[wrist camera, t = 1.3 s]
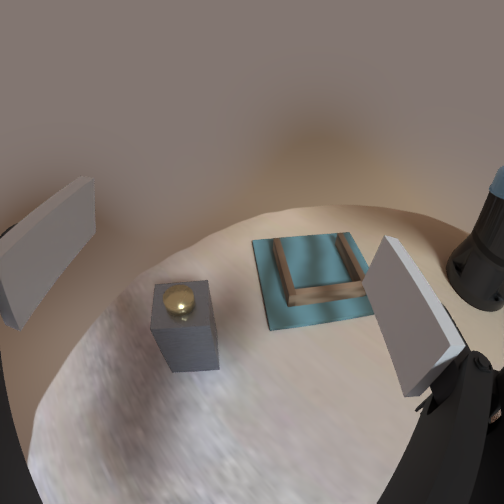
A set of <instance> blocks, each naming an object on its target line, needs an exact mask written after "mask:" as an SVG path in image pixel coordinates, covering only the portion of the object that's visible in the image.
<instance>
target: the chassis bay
mask: <svg viewBox="0 0 504 504" xmlns="http://www.w3.org/2000/svg"><path fill="white" fill-rule="evenodd" d="M253 248H254V253H255V258H256V263H257V268H258V273H259V278H260V283H261V288H262V293H263V298H264V304H265V309H266V314H267V319H268V324H269V329H270V331H272V330H280V329H288V328H295V327H302V326H309V325H316V324H322V323H329V322H335V321H341V320H347V319H352V318H358V317H363V316H369V315H374V311H373V309H372V306H371V304H370V301H369V299H368V296H367V294H366V292H365V289H364V287H363V285H362V281H363V279H364V277H365V275H366V273H367V271H368V269H369V267H368V265H367V263H366V261H365V259H364V257H363V256H362V254H361V252H360V250H359V248H358V247H357V245H356V243H355V241H354V240H353V238H352V236H351V234H350V233H349V232H346V233H333V234H321V235H308V236H296V237H285V238H273V239H261V240H253Z"/></svg>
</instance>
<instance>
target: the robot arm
mask: <svg viewBox="0 0 504 504" xmlns="http://www.w3.org/2000/svg"><path fill="white" fill-rule="evenodd" d="M489 190H490V191H489V194H488V197H487V199H486V201H485V204H484V206H483V208H482V211H481V213H480V215H479V218H478V220H477V222H476V224H475V226H474V229H473V231H472V233H471V234H470V235H469V236H468V237H467V238H466V239H465V240H464V241H463V242H462V243H461V244H460V245H459V246H458V247H457V248H456V249H455V250H454V251H453V252H452V254H451V256H450V258H449V260H448V262H447V267H446V270H447V275H448V278H449V281H450V283H451V284H452V286H453V288H454V289H455V290H456V292H457V293H458V294H459V295H460V296H461V297H462V298H463V299H464V300H465V301H466V302H468V303H469V304H471V305H472V306H474V307H476V308H478V309H480V310H483V311H489V312H493V311H497V310H499V309H501V308H502V307H503V306H504V166H502V167H500V168H499V169H498V171H497V173H496V176H495V178H494V180H493V183H492V184H491V185H490V187H489ZM94 200H95V198H94V178H91V177H84V176H80V177H78V178H77V179H75V180H74V181H72V182H71V183H70V184H68V185H67V186H65V187H64V188H63V189H61V190H60V191H58V192H57V193H56V194H54V195H53V196H52V197H50V198H49V199H48V200H46V201H45V202H44V203H43V204H41V205H40V206H39V207H38V208H36V209H35V210H34V211H32V212H31V213H30V214H29V215H28V216H26V217H25V218H24V219H22V220H21V221H20V222H19V223H17V224H15V225H13V226H11V227H9V228H8V229H7V230H6V231H5V232H4V233H2V235H1V236H0V313H1V316H2V318H3V320H4V323H5V325H8V326H10V327H12V328H14V329H16V330H19V331H21V330H22V328H23V327H24V325H25V324H26V322H27V321H28V319H29V318H30V316H31V315H32V313H33V312H34V310H35V309H36V307H37V306H38V305H39V303H40V302H41V301H42V299H43V298H44V296H45V295H46V294H47V292H48V291H49V290H50V288H51V287H52V286H53V284H54V283H55V282H56V280H57V279H58V278H59V276H60V275H61V274H62V273H63V271H64V270H65V269H66V267H67V266H68V265H69V264H70V262H71V261H72V260H73V259H74V258H75V256H76V255H77V254H78V253H79V251H80V250H81V249H82V248H83V247H84V246H85V244H86V243H87V242H88V241H89V240H90V238H91V237H92V236H93V235H94V234H95V233H96V225H95V201H94ZM362 285H363V287H364V289H365V292H366V294H367V296H368V299H369V301H370V304H371V306H372V309H373V311H374V314H375V316H376V319H377V321H378V324H379V326H380V329H381V332H382V334H383V337H384V340H385V342H386V345H387V348H388V351H389V353H390V356H391V359H392V362H393V365H394V368H395V370H396V373H397V376H398V379H399V382H400V385H401V388H402V392H403V395H404V397H413V396H420V395H421V394H422V393H423V392H424V391H425V390H426V389H427V388H428V387H429V386H430V388H431V390H432V394H431V395H430V396H429V397H428V398H427V399H425V400H424V401H423V402H422V403H421V404H420V405H419V406H418V407H417V408H416V410H415V411H416V412H417V411H419V410H420V409H421V408H423V410H422V412H421V413H420V414H421V415H420V418H419V420H418V423H417V425H416V428H415V430H414V432H413V435H412V437H411V439H410V441H409V444H408V446H407V448H406V450H405V452H404V454H403V456H402V458H401V460H400V462H399V464H398V466H397V468H396V470H395V472H394V474H393V476H392V478H391V480H390V481H389V483H388V485H387V487H386V489H385V490H384V492H383V494H382V495H381V497H380V499H379V500H378V502H377V504H504V367H503V368H502V369H501V370H500V371H496V370H493V367H492V365H491V363H490V361H489V360H488V359H487V357H485V356H484V355H483V354H482V353H480V352H478V351H470V349H469V347H468V345H467V343H466V341H465V340H464V338H463V336H462V334H461V332H460V331H459V329H458V327H456V324H455V322H454V320H453V319H452V317H451V315H450V314H449V312H448V310H447V309H446V308H445V306H444V305H443V304H442V303H441V302H440V301H439V299H438V297H437V296H436V294H435V293H434V291H433V289H432V288H431V286H430V285H429V283H428V282H427V280H426V279H425V277H424V276H423V274H422V273H421V271H420V270H419V268H418V267H417V265H416V264H415V262H414V261H413V260H412V258H411V257H410V255H409V254H408V252H407V251H406V250H405V248H404V247H403V245H402V244H401V243H400V241H399V240H398V239H397V238H393V237H389V236H386V235H384V237H383V239H382V241H381V244H380V246H379V248H378V250H377V252H376V254H375V257H374V259H373V261H372V263H371V265H370V267H369V269H368V271H367V273H366V275H365V277H364V279H363V281H362ZM500 409H501V416H500V417H499V418H498V419H497V420H496V421H494V422H493V423H491V417H492V416H494V415H495V414H496V413H497V412H498V411H499V410H500ZM0 504H43V503H42V500H41V498H40V496H39V494H38V491H37V489H36V487H35V484H34V482H33V480H32V477H31V474H30V472H29V469H28V467H27V464H26V461H25V458H24V455H23V452H22V449H21V446H20V443H19V440H18V436H17V433H16V429H15V426H14V422H13V418H12V414H11V410H10V405H9V401H8V396H7V391H6V386H5V380H4V374H3V368H2V361H1V353H0Z"/></svg>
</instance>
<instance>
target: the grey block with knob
mask: <svg viewBox="0 0 504 504" xmlns="http://www.w3.org/2000/svg"><path fill="white" fill-rule="evenodd" d="M150 330H151V332H152V334H153V336H154V338H155V340H156V342H157V344H158V346H159V348H160V350H161V352H162V354H163V356H164V358H165V360H166V362H167V364H168V365H169V367H170V369H171V371H172V373H174V372H194V371H209V370H220V368H219V355H218V342H217V329H216V324H215V318H214V313H213V307H212V301H211V296H210V290H209V284H208V280H205V281H193V282H181V283H169V284H157V285H155V289H154V298H153V307H152V316H151V326H150Z"/></svg>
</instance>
